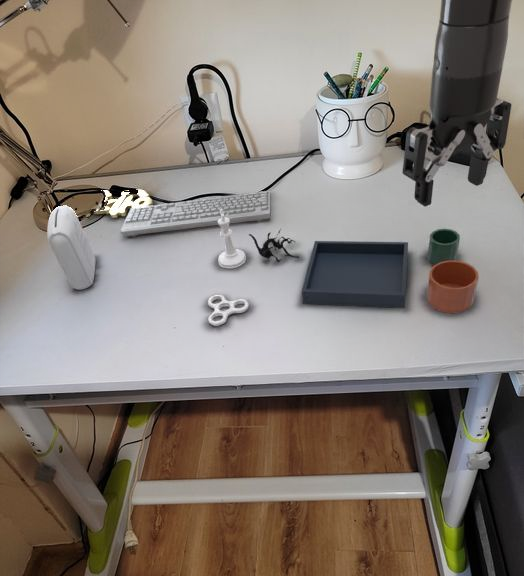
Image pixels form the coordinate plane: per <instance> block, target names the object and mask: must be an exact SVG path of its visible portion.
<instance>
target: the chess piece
mask: <svg viewBox="0 0 524 576" xmlns="http://www.w3.org/2000/svg"><path fill="white" fill-rule="evenodd" d="M220 214H221V218H220V219H219V220H218V224H219V225H218V226H219V228H220V229H221V231H220V232H219V236H220V237H222V238H224V247H225V250H224V251H222V252H221V253H220V254H219V256H218V258H217V259H218V265H219V266H220V267H221V268H223V269H236V268H239V267H241V266H242V265H244V263H246V260H247V255H246V253H245V252H244V251H243V250H241V249H240V248H235V246H234V244H233V242H232V241H233V240H232V238H231V236H232V235H233V233H234V232H233V230H232V229H231V228H230V224H231V223H230V219H229V218H227V217H225V216H224V213H223V209H220Z"/></svg>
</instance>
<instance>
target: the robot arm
mask: <svg viewBox="0 0 524 576" xmlns="http://www.w3.org/2000/svg"><path fill="white" fill-rule="evenodd" d="M512 4H513V0H440V8H439V18H438V21H439V22H438V25H437V31H436V34H435V40H434V47H433V59H432V68H431V78H430V79H431V80H430V81H431V82H430V89H429V100H428V105H429V109H430V112H431V117H430V121H429V123H428V125H427V126H426V127H423V128H419V129H417V128H416V127H413V126H412V127H410V128H409V129H408V130H407V132H406V137H405V144H404V145H405V147H404V155H403V165H402V174H403V175H404V176H405V177H407V178H409V179H410V180H412V181H414V182H415V184H414V197H413V198H414V200H415V201H416V202H417V203H418V204H420V205H422V206H423V207H425V208H426V207H428V206H430V205H431V204H432V201H433V192H434V191H433V189H434V177H435V176H436V174H437V172H438V171H439V169H440V168H441V167H444V166H445V165H446V164H447V163H448V161H449V159H450V158H451V157H452V156H455V155H457V154H458V153H460V152H461V151H468V150H472V151H473V153H474V154H471V155H470V161H469V167H468V174H467V181H468V182H469V183H470V184H472V185H474V186H475V187H478V186H481V185H482V184H483V183H484V180H485V178H486V176H487V171H488V166H489V160H490V159H491V158H492V156H493V155H494V152H496V151H497V150H500V151H501V150H502V149H504V148H505V145H506V142H507V135H508V130H509V123H510V118H511V110H512V103H511V102H509V101H506V100H505V99H502V98H499V97H498V94H499V88H500V84H501V77H502V72H503V68H504V61H505V58H506V57H505V56H506V50H507V46H508V38H509V23H510V14H511V9H512ZM485 127H486V128H485ZM435 149H437V151H438V152H440V153H439V154H438V155H436V154H434V150H435ZM430 162H431V163H430ZM429 164H430V165H429ZM428 165H429V166H428ZM427 167H428V168H427ZM426 168H427V169H426Z"/></svg>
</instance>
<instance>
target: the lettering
mask: <svg viewBox="0 0 524 576" xmlns="http://www.w3.org/2000/svg"><path fill="white" fill-rule="evenodd" d="M102 190H103V189H102ZM137 190H138V193H137V194H129V193H130V192H124V191H122V192H121V194H120V195H121V196H120V197H119V198H118V199H117V198H115V199H114V198H113V195H112V193H110V191H109V190H107V189H105V190H103V191H104V192H105V195H106V197H105V200H104V202H106V201H108V203H107V205H106V206H104V207H105V209H104V210H100V211H98V209H97V210H96V211H94V212H93V214H94V215H110V216H111V218H113V219H117V218H119V217H127V212H128V211H129V210H130V209H131V208H136V209H137V207H142V208H143V207H144V206H151V205H153V206H154V202H153V199H152V198H151V197H150V194H149V193H147V192H146V191H145V190H143V189H137ZM134 198H137V199H135V200H134ZM90 216H92V212H91V213H90V214H89V215H87V216H84V217H85V218H88V217H90Z"/></svg>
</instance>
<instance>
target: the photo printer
mask: <svg viewBox="0 0 524 576" xmlns="http://www.w3.org/2000/svg"><path fill="white" fill-rule="evenodd" d="M46 232H47V233H46V236H47V241H48V244H49V246H50V249H51V251H52V252H53V254H54V256H55V259H56V260H57V262H58V264H59V266H60V268H61V269H62V272H63V273H64V276H65V277H66V279H67V281H68V283H69V285H70V286H71V288H72V289H74V290H78V291H80V290H85V289H87V288H89V287H91V286H92V285H93V283H94V280H95V273H96V256H95V252H94V250H93V248H92V246H91V244H90V242H89V239H88V237H87V235H86V233H85V231H84V229H83V226H82V224H81V222H80V220H79V218H78V217H77V215H76V213H75V211H74V210H73V209H72V208H71V207H69V206H67V205H63V206H58V207H56V208H55V209H54V210H53V211H52V213H51V214H50V217H49V218H48V222H47V228H46Z"/></svg>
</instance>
